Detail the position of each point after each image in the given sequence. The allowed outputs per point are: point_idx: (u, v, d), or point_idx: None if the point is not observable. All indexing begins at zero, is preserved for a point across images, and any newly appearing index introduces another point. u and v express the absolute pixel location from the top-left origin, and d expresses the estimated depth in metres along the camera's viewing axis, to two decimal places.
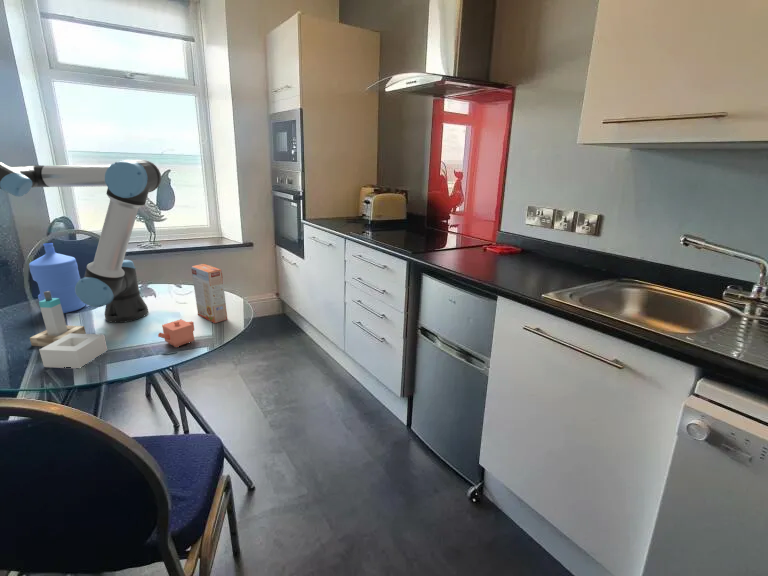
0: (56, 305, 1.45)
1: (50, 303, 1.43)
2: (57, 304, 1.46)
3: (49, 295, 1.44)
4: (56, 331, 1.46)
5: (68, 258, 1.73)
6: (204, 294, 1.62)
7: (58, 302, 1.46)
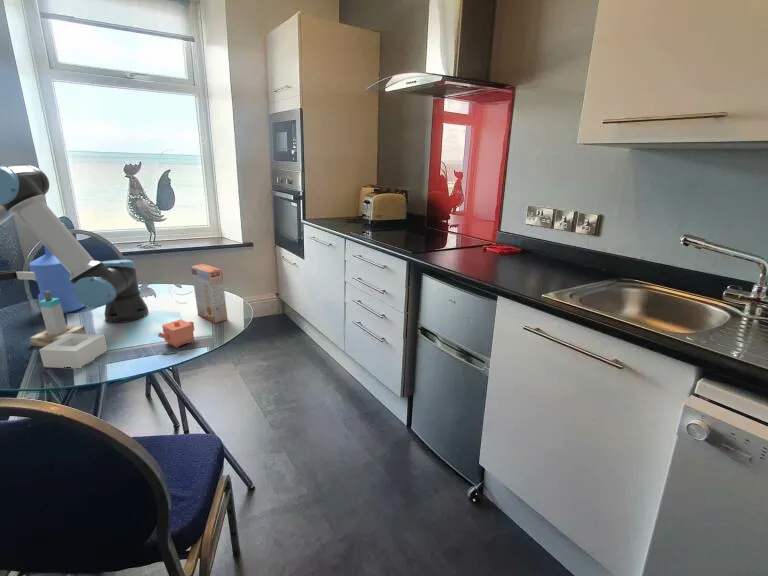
0: (56, 305, 1.45)
1: (50, 303, 1.43)
2: (57, 304, 1.46)
3: (49, 295, 1.44)
4: (56, 331, 1.46)
5: None
6: (204, 294, 1.62)
7: (58, 302, 1.46)
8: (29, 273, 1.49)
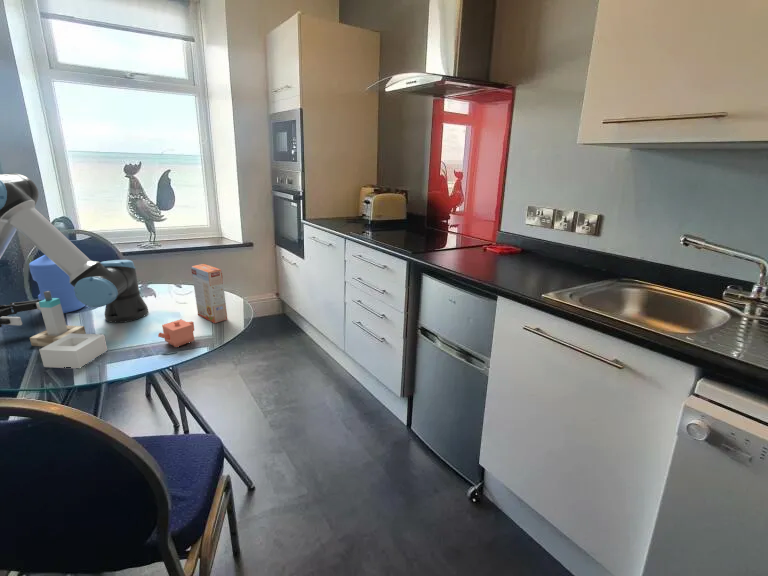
0: (56, 305, 1.45)
1: (50, 303, 1.43)
2: (57, 304, 1.46)
3: (49, 295, 1.44)
4: (56, 331, 1.46)
5: None
6: (204, 294, 1.62)
7: (58, 302, 1.46)
8: None
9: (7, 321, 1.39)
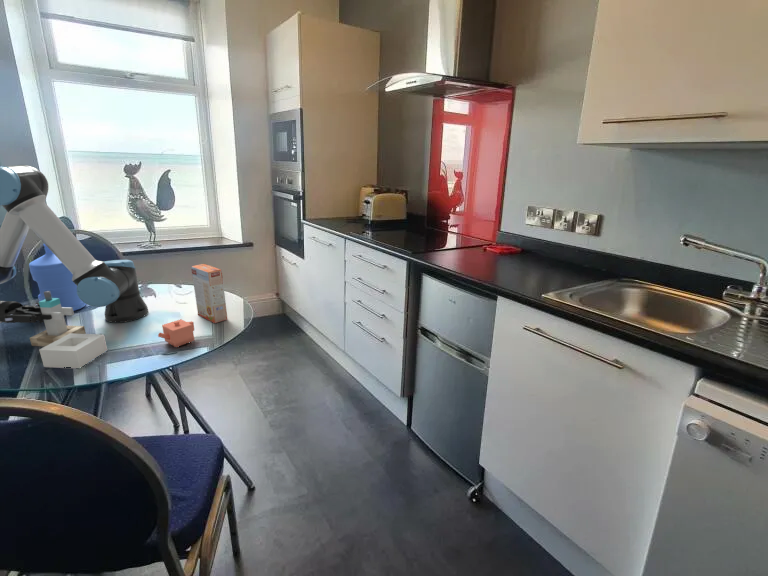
0: (56, 305, 1.45)
1: (50, 303, 1.43)
2: (57, 304, 1.46)
3: (49, 295, 1.44)
4: (56, 331, 1.46)
5: None
6: (204, 294, 1.62)
7: (58, 302, 1.46)
8: (67, 309, 1.47)
9: (49, 316, 1.43)
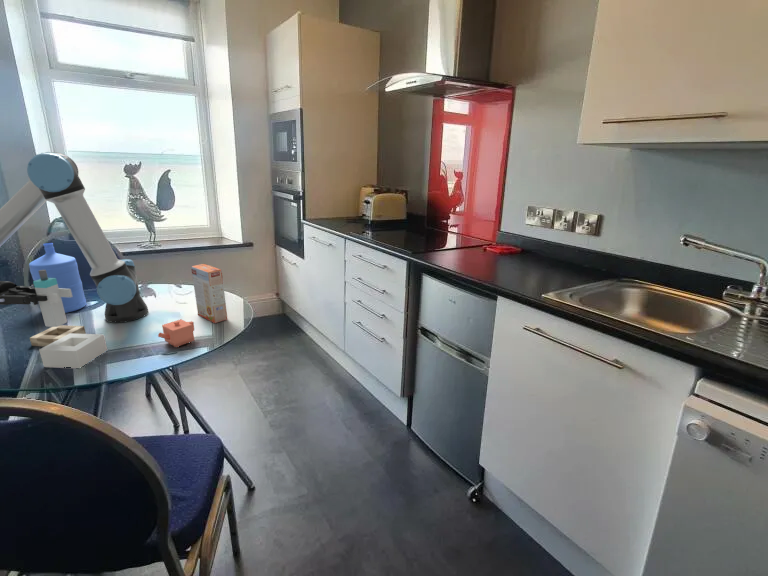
0: (52, 285, 1.31)
1: (45, 283, 1.28)
2: (54, 285, 1.32)
3: (45, 274, 1.29)
4: (52, 314, 1.32)
5: (68, 258, 1.73)
6: (204, 294, 1.62)
7: (55, 282, 1.32)
8: (64, 290, 1.33)
9: (44, 298, 1.28)
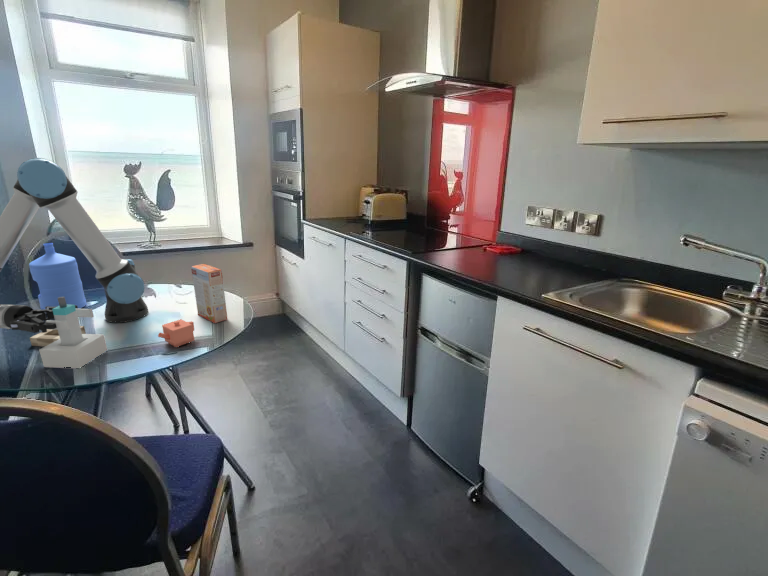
0: (71, 312, 1.31)
1: (65, 310, 1.28)
2: (72, 311, 1.31)
3: (64, 301, 1.29)
4: (71, 341, 1.31)
5: (68, 258, 1.73)
6: (204, 294, 1.62)
7: (73, 309, 1.32)
8: (86, 310, 1.35)
9: (53, 325, 1.25)
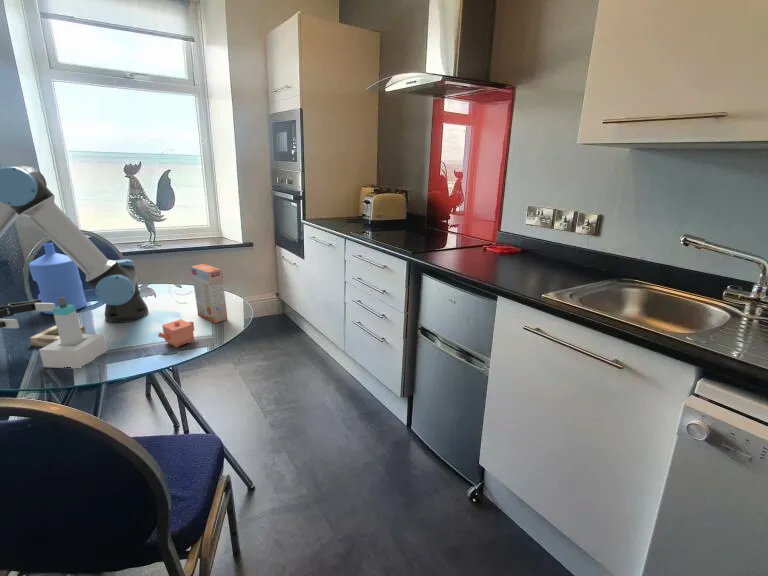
0: (71, 312, 1.31)
1: (65, 310, 1.28)
2: (72, 311, 1.31)
3: (64, 301, 1.29)
4: (71, 341, 1.31)
5: (68, 258, 1.73)
6: (204, 294, 1.62)
7: (73, 309, 1.32)
8: (48, 304, 1.38)
9: (2, 324, 1.25)
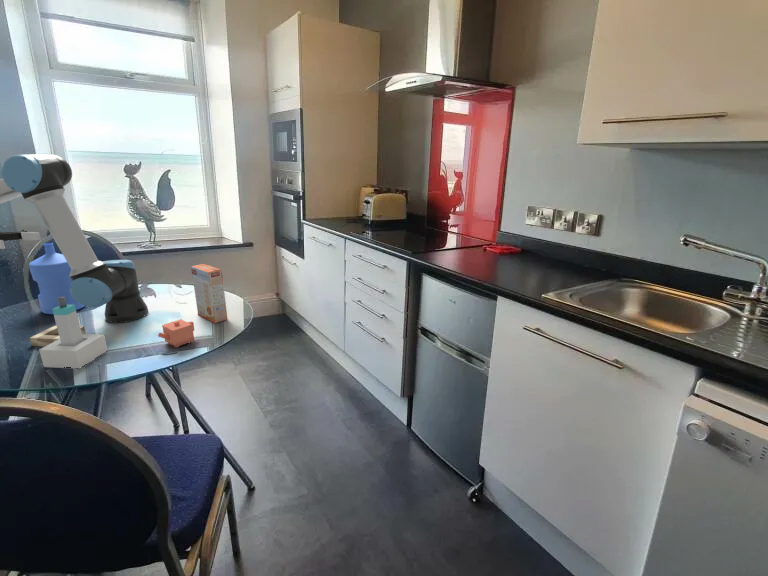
0: (71, 312, 1.31)
1: (65, 310, 1.28)
2: (72, 311, 1.31)
3: (64, 301, 1.29)
4: (71, 341, 1.31)
5: None
6: (204, 294, 1.62)
7: (73, 309, 1.32)
8: (34, 233, 1.48)
9: None
